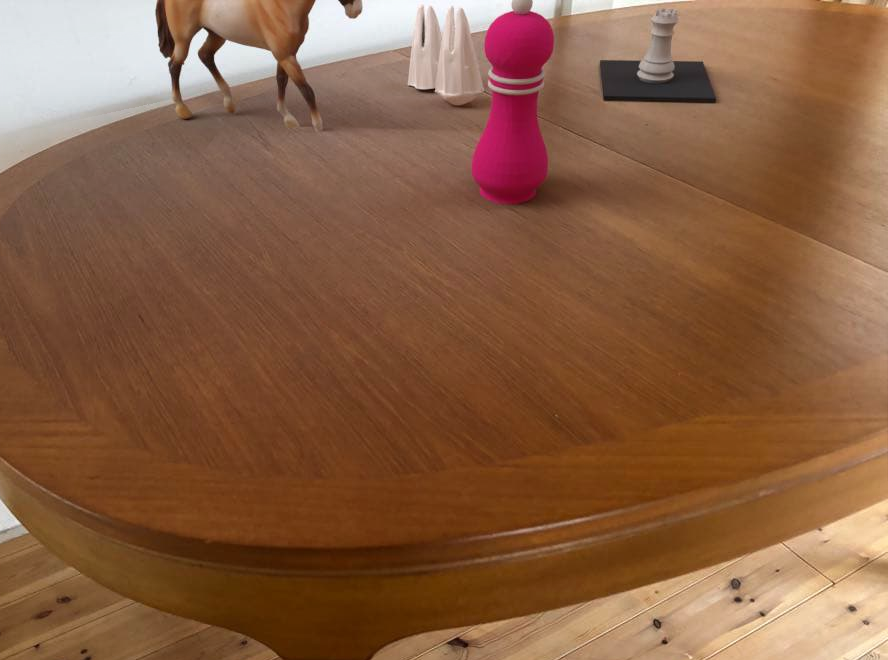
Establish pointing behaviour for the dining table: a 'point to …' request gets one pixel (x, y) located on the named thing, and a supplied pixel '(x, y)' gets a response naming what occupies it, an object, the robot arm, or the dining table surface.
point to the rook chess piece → (659, 49)
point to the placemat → (682, 87)
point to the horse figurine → (241, 41)
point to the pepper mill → (514, 107)
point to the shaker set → (445, 57)
